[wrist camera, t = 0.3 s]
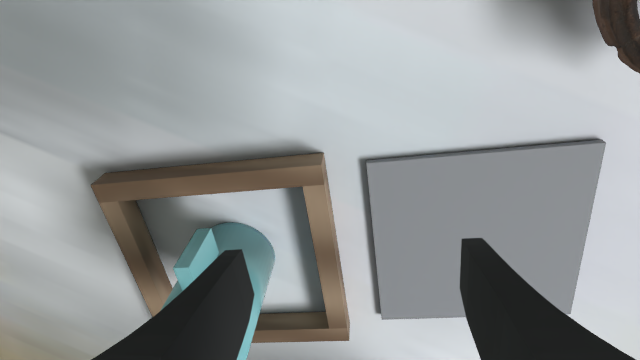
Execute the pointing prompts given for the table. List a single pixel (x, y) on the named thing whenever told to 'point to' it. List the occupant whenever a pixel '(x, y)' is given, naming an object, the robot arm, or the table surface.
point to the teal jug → (215, 242)
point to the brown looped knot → (620, 28)
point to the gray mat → (480, 221)
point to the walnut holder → (224, 177)
